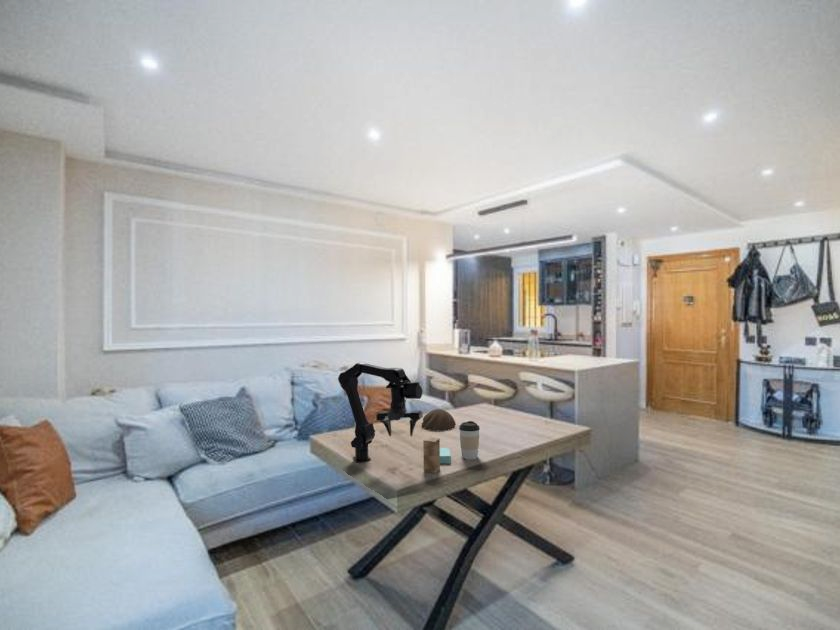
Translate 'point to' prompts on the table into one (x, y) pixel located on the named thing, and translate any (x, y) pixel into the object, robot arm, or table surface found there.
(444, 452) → the base
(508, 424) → the table surface
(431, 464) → the block
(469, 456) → the coffee cup
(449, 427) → the decorative dome
